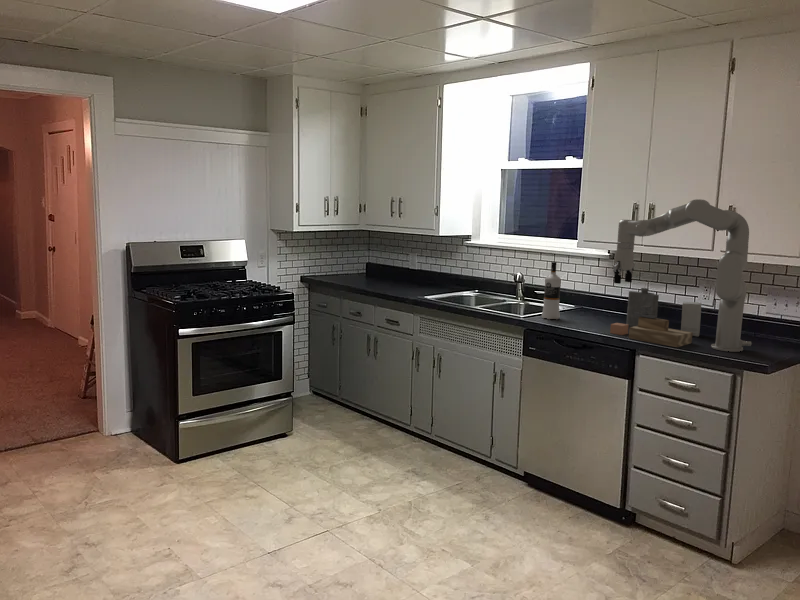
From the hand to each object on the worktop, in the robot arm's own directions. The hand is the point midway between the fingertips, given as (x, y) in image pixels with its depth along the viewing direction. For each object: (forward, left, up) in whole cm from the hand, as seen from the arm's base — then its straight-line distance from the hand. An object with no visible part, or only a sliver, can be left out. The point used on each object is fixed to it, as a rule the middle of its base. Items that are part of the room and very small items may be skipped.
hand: (622, 282), depth 321 cm
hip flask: (-16, -16, -25) cm, 33 cm away
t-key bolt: (-8, +9, -14) cm, 19 cm away
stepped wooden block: (-14, +15, -24) cm, 32 cm away
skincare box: (-34, -1, -24) cm, 42 cm away
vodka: (+25, -36, -24) cm, 50 cm away
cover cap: (0, 0, -24) cm, 25 cm away
